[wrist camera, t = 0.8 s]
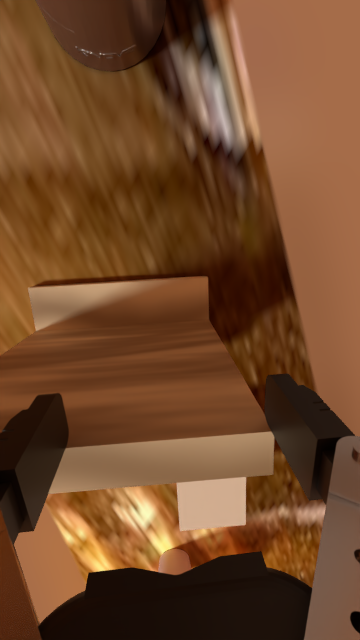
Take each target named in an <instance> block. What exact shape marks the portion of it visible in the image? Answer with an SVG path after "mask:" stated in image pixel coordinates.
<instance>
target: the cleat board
mask: <svg viewBox="0 0 360 640" xmlns="http://www.w3.org/2000/svg"><path fill="white" fill-rule="evenodd" d="M28 291H29V296H30V301H31V307H32V312H33V317H34V323H35V328H36V332H34V333H33V334H31V335H30V336H29V337H27V338H26V339H24V340H23V341H21V342H20V343H18V344H17V345H15V346H14V347H13V348H11V349H10V350H8V351H7V352H5V353H4V354H2V355H1V356H0V433H2V430H3V429H4V427H5V426H6V425H7V423H8V422H9V420H10V419H11V418H13V417H14V416H15V415H17V414H18V413H19V412H20V411H22V410H26V409H28V408H29V407H30V405H31V404H32V402H33V401H34V399H35V398H36V396H37V395H41V394H53V393H60V394H61V396H62V399H63V404H64V409H65V413H66V418H67V423H68V428H69V438H68V443H67V446H66V449H65V451H64V454H63V456H62V459H61V462H60V464H59V467H58V469H57V472H56V475H55V477H54V480H53V482H52V485H51V488H50V490H49V493H48V494H53V493H64V492H76V491H88V490H99V489H111V488H123V487H134V486H146V485H157V484H169V483H181V482H192V481H204V480H216V479H227V478H239V477H250V476H262V475H273V461H274V435H273V434H272V432H271V430H270V428H269V426H268V424H267V421H266V417H265V414H264V413H263V411H262V409H261V407H260V406H259V404H258V402H257V401H256V399H255V397H254V396H253V394H252V392H251V390H250V389H249V387H248V385H247V384H246V382H245V380H244V379H243V377H242V375H241V373H240V372H239V370H238V368H237V367H236V365H235V363H234V362H233V360H232V358H231V356H230V355H229V353H228V351H227V350H226V348H225V346H224V344H223V343H222V341H221V339H220V338H219V336H218V334H217V333H216V331H215V329H214V327H213V326H212V324H211V322H210V321H209V298H208V277H207V276H195V277H178V278H162V279H145V280H128V281H111V282H94V283H78V284H61V285H44V286H33V287H30V288H28Z"/></svg>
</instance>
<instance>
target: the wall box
mask: <svg viewBox="0 0 360 640" xmlns="http://www.w3.org/2000/svg"><path fill="white" fill-rule="evenodd" d="M177 494H178V509H179V524H180V531H185V530H196V529H207V528H218V527H229V526H240V525H246V477H239V478H227V479H216V480H204V481H192V482H181V483H177Z"/></svg>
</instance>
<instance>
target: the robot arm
mask: <svg viewBox="0 0 360 640" xmlns="http://www.w3.org/2000/svg"><path fill="white" fill-rule="evenodd" d="M35 1H36V2H37V4H38V6H39V8H40V10H41V12H42V14H43V16H44V17H45V19H46V21H47V23H48V25H49V27H50V29H51V31H52V32H53V34H54V36H55V38H56V39H57V40H58V42H59V43H60V44H61V46H62V47H63V48H64V50H66V51H67V52H68V53H69V54H70V55H71V56H72V57H73V58H74V59H76V60H77V61H79V62H81V63H82V64H84V65H86V66H88V67H91V68H94V69H97V70H102V71H117V70H123V69H126V68H128V67H130V66H133V65H135V64H136V63H138V62H139V61H140V60H142V59H143V58H144V57H145V56H146V55H147V54H148V53H149V52H150V50H151V49H152V48H153V47H154V45H155V43H156V41H157V39H158V37H159V35H160V33H161V30H162V26H163V23H164V20H165V11H166V0H35ZM265 417H266V421H267V424H268V426H269V428H270V430H271V432H272V434H273V435H274V437H275V439H276V441H277V443H278V444H279V446H280V448H281V450H282V452H283V454H284V455H285V457H286V459H287V461H288V463H289V465H290V466H291V468H292V470H293V472H294V474H295V476H296V477H297V479H298V481H299V483H300V485H301V487H302V488H303V490H304V492H305V494H306V496H307V498H308V499H309V500H318V499H323V501H324V503H325V504H326V510H325V516H324V522H323V528H322V534H321V540H320V546H319V552H318V558H317V564H316V570H315V576H314V582H313V588H311V587H309V586H308V585H307V584H305V583H304V582H302V581H300V580H299V579H297V578H295V577H293V576H291V575H289V574H287V573H285V572H282V571H279V570H276V569H272V568H267V567H266V565H265V562H264V558H263V555H262V552H261V551H260V552H252V553H244V554H236V555H228V556H220V557H218V558H216V559H213V560H211V561H209V562H207V563H204V564H202V565H200V566H198V567H195V568H193V569H191V570H189V571H186V572H184V573H182V574H179V575H171V574H166V573H160V572H155V571H149V570H143V569H138V568H124V569H116V570H108V571H100V572H92V573H89V574H88V579H87V584H86V590H85V591H84V592H81V593H79V594H77V595H76V596H74V597H72V598H70V599H69V600H67V601H66V602H65V603H63V604H62V605H60V606H59V607H58V608H57V609H55V610H54V611H53V612H52V613H51V614H50V615H48V617H46V618H45V619H44V620H43V621H42V622H41V623H40V622H39V620H38V617H37V614H36V611H35V608H34V605H33V602H32V599H31V596H30V592H29V590H28V586H27V583H26V581H25V578H24V574H23V571H22V568H21V566H20V562H19V559H18V556H17V553H16V550H15V547H14V542H15V540H16V538H17V536H18V533H20V532H29V531H34V529H35V526H36V523H37V521H38V519H39V516H40V513H41V511H42V508H43V506H44V503H45V500H46V498H47V495H48V493H49V490H50V488H51V485H52V482H53V480H54V477H55V475H56V472H57V469H58V467H59V464H60V462H61V459H62V456H63V454H64V451H65V449H66V446H67V443H68V438H69V428H68V423H67V418H66V413H65V409H64V404H63V399H62V396H61V394H60V393H53V394H41V395H37V396H36V398H35V399H34V401H33V402H32V404H31V405H30V407H29V408H28V409H26V410H22V411H20V412H19V413H18V414H17V415H15V416H14V417H13V418H11V419H10V420H9V422H8V423H7V425H6V426H5V427H4V429H3V430H2V433H0V640H360V437H358V436H355V435H354V434H353V433H352V432H351V431H350V429H349V428H348V427H347V426H346V425H345V424H344V423H343V422H342V421H341V420H340V419H339V417H338V416H336V414H335V413H334V412H333V411H332V410H330V408H329V407H328V406H327V404H326V403H324V402H323V400H322V399H321V398H320V397H319V396H318V395H317V394H316V392H314V391H312V390H311V389H309V388H307V387H305V386H304V385H299V386H298V385H297V383H296V382H295V381H294V380H293V379H292V378H291V376H290V375H289V374H277V375H268V376H267V379H266V392H265Z"/></svg>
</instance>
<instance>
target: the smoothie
mask: <svg viewBox="0 0 360 640" xmlns="http://www.w3.org/2000/svg"><path fill="white" fill-rule="evenodd" d="M189 570H191V565H190V560H189V556H188V554H187V553H186V552H185V551H183V550H181V549H170V550H168V551H166V552H164V553H163V554H162V555H161V557H160V562H159V570H158V572H160V573H166V574H171V575H179V574H182V573H184V572H186V571H189Z"/></svg>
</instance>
